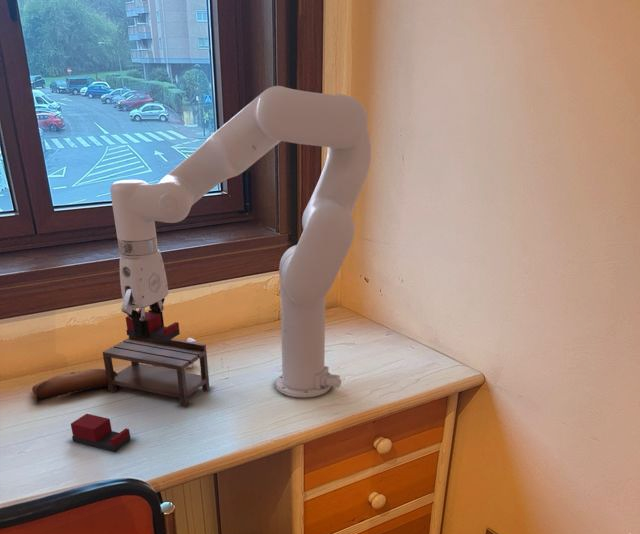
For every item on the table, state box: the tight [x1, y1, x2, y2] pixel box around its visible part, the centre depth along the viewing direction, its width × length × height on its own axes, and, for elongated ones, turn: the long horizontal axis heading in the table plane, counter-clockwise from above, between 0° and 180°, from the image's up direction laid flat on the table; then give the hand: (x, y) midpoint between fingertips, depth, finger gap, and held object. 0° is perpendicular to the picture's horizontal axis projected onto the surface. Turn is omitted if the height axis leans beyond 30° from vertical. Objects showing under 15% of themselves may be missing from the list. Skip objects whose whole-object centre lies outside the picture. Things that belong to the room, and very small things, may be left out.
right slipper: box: [125, 310, 181, 342], centre depth 135 cm, size 10×5×4 cm, turn 68°
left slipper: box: [70, 413, 132, 453], centre depth 123 cm, size 10×5×4 cm, turn 68°
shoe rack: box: [102, 335, 211, 408], centre depth 141 cm, size 20×10×11 cm, turn 68°
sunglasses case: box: [31, 368, 118, 404], centre depth 143 cm, size 18×7×7 cm
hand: (149, 332), depth 136 cm, fingers closed on right slipper, 4 cm apart
